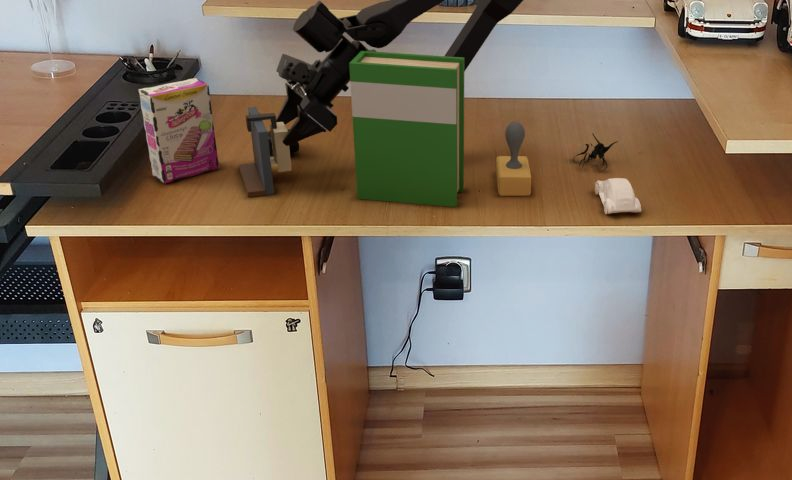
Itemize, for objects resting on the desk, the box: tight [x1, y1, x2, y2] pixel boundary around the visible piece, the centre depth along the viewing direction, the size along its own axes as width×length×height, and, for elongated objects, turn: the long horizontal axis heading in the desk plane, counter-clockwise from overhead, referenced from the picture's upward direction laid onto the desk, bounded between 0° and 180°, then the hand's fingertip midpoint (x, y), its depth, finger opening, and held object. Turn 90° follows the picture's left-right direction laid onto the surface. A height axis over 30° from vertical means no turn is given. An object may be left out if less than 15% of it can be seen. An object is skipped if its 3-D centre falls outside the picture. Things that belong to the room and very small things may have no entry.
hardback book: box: [349, 51, 465, 208], centre depth 155 cm, size 18×7×24 cm, turn 82°
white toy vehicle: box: [594, 177, 642, 215], centre depth 159 cm, size 12×6×5 cm, turn 9°
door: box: [237, 106, 278, 198], centre depth 161 cm, size 6×13×12 cm, turn 21°
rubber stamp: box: [495, 121, 532, 197], centre depth 162 cm, size 10×6×12 cm, turn 3°
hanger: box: [245, 112, 292, 173], centre depth 161 cm, size 7×5×10 cm
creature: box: [572, 132, 619, 172], centre depth 174 cm, size 8×5×8 cm
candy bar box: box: [137, 77, 220, 184], centre depth 162 cm, size 11×5×16 cm, turn 135°
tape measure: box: [267, 128, 300, 156], centre depth 175 cm, size 7×7×4 cm
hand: (280, 135), depth 161 cm, fingers open, 9 cm apart
